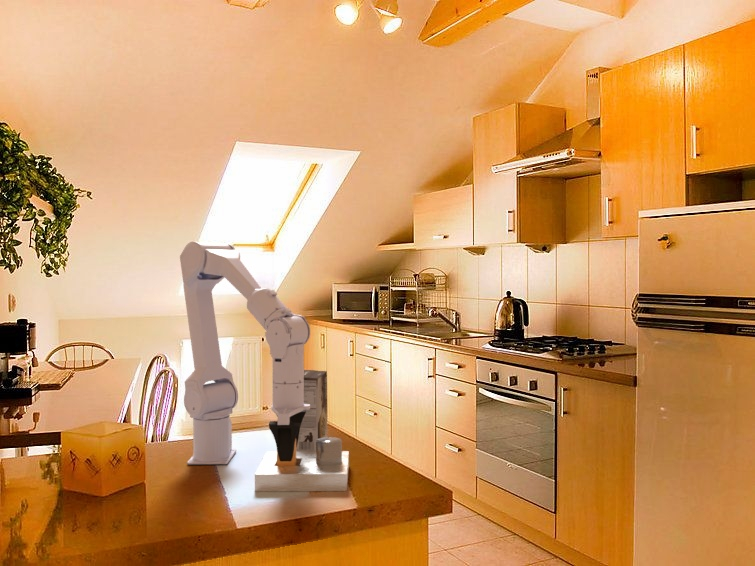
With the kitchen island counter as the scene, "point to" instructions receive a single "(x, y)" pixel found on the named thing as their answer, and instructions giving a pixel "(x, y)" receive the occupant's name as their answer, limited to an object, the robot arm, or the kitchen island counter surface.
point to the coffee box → (313, 410)
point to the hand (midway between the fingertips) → (288, 454)
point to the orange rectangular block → (288, 463)
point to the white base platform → (307, 469)
